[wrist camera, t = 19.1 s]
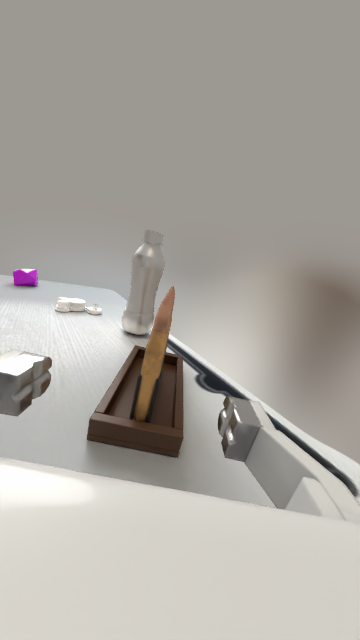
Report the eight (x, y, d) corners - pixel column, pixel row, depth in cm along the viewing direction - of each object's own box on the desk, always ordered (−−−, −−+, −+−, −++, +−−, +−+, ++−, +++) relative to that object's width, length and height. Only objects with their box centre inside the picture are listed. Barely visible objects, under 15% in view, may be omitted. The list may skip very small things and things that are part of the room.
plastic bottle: (122, 337, 35) (140, 225, 30) (118, 325, 41) (133, 228, 35) (154, 339, 38) (176, 237, 32) (146, 327, 43) (164, 238, 38)
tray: (177, 457, 15) (183, 438, 15) (86, 439, 15) (89, 419, 14) (179, 367, 29) (182, 355, 29) (132, 357, 29) (135, 345, 28)
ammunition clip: (147, 430, 16) (179, 300, 13) (127, 426, 16) (154, 294, 13) (161, 368, 27) (180, 287, 24) (148, 365, 27) (166, 283, 23)
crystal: (16, 281, 54) (16, 265, 53) (39, 284, 57) (39, 269, 56) (12, 284, 50) (11, 267, 49) (36, 287, 53) (37, 272, 52)
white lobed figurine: (63, 316, 38) (63, 306, 37) (46, 304, 42) (46, 295, 42) (104, 314, 45) (105, 305, 45) (86, 304, 50) (87, 296, 49)
